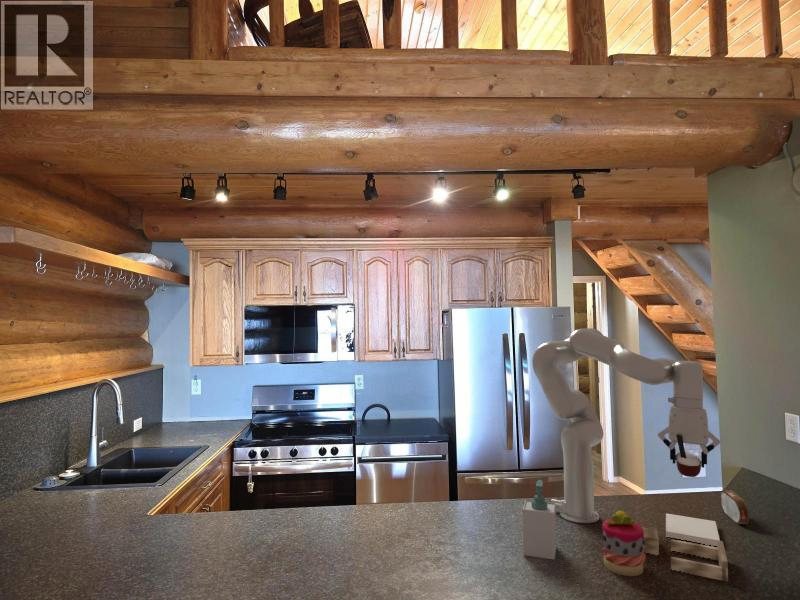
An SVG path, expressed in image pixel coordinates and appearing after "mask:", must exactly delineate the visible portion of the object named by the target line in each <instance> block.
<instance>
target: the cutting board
mask: <svg viewBox="0 0 800 600" xmlns="http://www.w3.org/2000/svg"><path fill="white" fill-rule="evenodd" d="M666 537H671V538H676V539H681V540H687V541H692V542H697V543H701V544H700V545H703V544H705V545H706V546H709V545H711V547H714V546H717V548H718V541H721V540H720V534H719V531H718V526H717V522H716V521H715V520H709V519H703V518H702V519H701V518H697V517H691V516H684V515H678V514H673V513H665V538H666ZM681 540H680V541H681ZM692 542H691V543H692ZM697 543H696V544H697Z"/></svg>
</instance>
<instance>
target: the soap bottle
mask: <svg viewBox="0 0 800 600" xmlns="http://www.w3.org/2000/svg"><path fill="white" fill-rule="evenodd" d="M535 483H536V484H535V492H536V493H537V494H535V495H534V497H533V499H525V500H524V504H523V507H522V551H523V552H522V555H523V556H527V557H528V556H529V557H532V558H533V557H534V558H540V559H547V560H554V561H555V560H556V552H557V551H556V550H557V533H556V532H557V526H556V525H557V520H556V519H557V514H556V512H557V511H556V509H557V507H556V504H555V503H554V502H551V501H547V500H546V498H545V496H544V495H543V494H542V493H543V488H544V485H543V484H544V483H543V480H541V479H538V480H537V481H536V482H535Z"/></svg>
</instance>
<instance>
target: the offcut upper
mask: <svg viewBox="0 0 800 600" xmlns="http://www.w3.org/2000/svg"><path fill="white" fill-rule="evenodd" d="M641 527H642V528H643V530H644V539H643V540H644V544H643V545H644V546H650V547H655V548H658V537H659V534H658V533H659V532H658V529H657V528H650V527H646V526H641Z"/></svg>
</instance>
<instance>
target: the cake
mask: <svg viewBox="0 0 800 600" xmlns="http://www.w3.org/2000/svg"><path fill="white" fill-rule="evenodd" d="M601 526H602V527H601V529H602V532H601V533H602V534H601V535H602V540H603V541H602V543H603V548H600V549H601V551H602V552H603V566H604V567H605V568H606V570H608V571H610V572H612V573H613V574H616V575H622V576H627V577H636V576H637V577H638V576H639V575H642V574H643V573H644V563H645V561H646V557H647V556H646V553H644V551H643V544H644V540H643V539H644V530H643V528H642V527H643V526H641V525H639V523H637V522H635V520H634V519H632V516H630V515H627V513H626V512H625V511H623V510H617V511H616V512H615V514H613V515H612V516H611V518H609V519H606V520H604V521H603V522H602V525H601Z"/></svg>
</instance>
